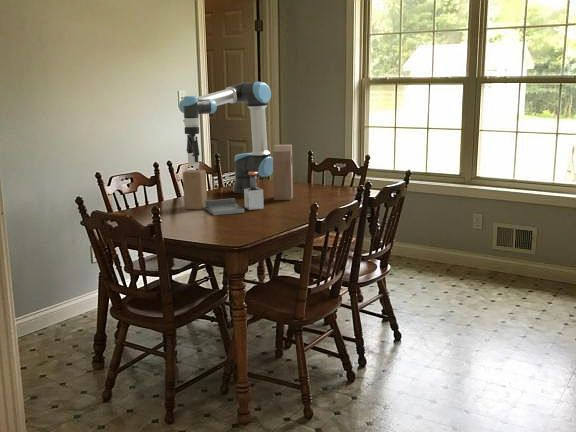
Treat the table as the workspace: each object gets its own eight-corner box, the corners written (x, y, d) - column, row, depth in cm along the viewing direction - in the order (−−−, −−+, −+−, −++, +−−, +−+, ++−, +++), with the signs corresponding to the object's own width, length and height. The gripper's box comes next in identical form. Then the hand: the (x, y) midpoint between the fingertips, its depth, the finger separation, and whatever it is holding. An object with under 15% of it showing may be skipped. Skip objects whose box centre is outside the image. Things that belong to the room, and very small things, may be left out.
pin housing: (244, 207, 338) (244, 188, 336) (259, 205, 341) (258, 187, 338) (249, 210, 330) (248, 191, 328) (263, 208, 333) (263, 189, 331)
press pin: (247, 192, 335) (247, 171, 333) (256, 191, 337) (256, 171, 335) (250, 194, 331) (249, 173, 328) (259, 193, 332) (259, 172, 330)
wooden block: (202, 210, 333) (200, 172, 329) (184, 209, 335) (181, 172, 331) (208, 206, 343) (206, 169, 339) (190, 205, 345) (188, 169, 341)
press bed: (205, 208, 336) (205, 200, 335) (235, 206, 341) (234, 198, 340) (213, 215, 319) (213, 206, 318) (244, 212, 325) (244, 204, 324)
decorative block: (293, 196, 364) (291, 144, 358) (291, 200, 354) (290, 146, 348) (276, 196, 365) (274, 144, 359) (273, 200, 355) (272, 146, 349)
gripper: (179, 125, 340) (181, 164, 344) (189, 128, 317) (191, 170, 321) (193, 124, 343) (195, 163, 347) (204, 127, 320) (206, 169, 324)
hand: (193, 167), depth 334 cm, fingers open, 13 cm apart
